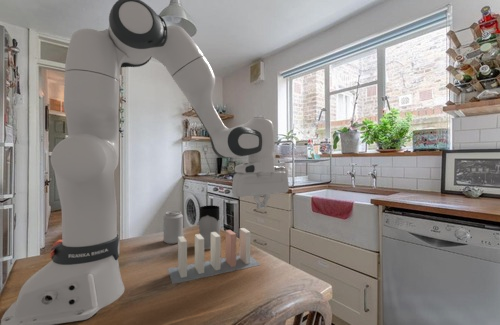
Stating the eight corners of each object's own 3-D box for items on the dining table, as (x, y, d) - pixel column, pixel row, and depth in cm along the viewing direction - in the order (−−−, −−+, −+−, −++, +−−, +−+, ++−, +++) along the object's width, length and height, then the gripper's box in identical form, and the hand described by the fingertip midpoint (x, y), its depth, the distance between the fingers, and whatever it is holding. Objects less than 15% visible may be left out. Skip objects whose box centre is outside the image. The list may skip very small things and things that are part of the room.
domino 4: (231, 267, 74) (231, 234, 74) (225, 260, 79) (225, 230, 79) (236, 266, 75) (236, 234, 75) (230, 260, 80) (230, 229, 79)
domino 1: (181, 277, 68) (181, 242, 68) (178, 270, 72) (177, 236, 72) (186, 276, 68) (186, 241, 68) (183, 269, 73) (183, 236, 73)
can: (165, 238, 101) (165, 210, 101) (183, 237, 102) (183, 209, 102) (161, 245, 94) (161, 214, 94) (182, 244, 95) (181, 213, 95)
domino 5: (245, 264, 77) (245, 232, 76) (239, 258, 81) (239, 228, 81) (250, 263, 77) (250, 232, 77) (243, 257, 82) (243, 227, 82)
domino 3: (215, 270, 72) (215, 237, 72) (210, 263, 77) (210, 232, 76) (220, 269, 73) (220, 236, 73) (215, 262, 77) (215, 231, 77)
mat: (172, 285, 64) (172, 284, 64) (167, 269, 73) (167, 268, 73) (261, 265, 76) (261, 264, 76) (247, 254, 85) (247, 253, 85)
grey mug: (195, 250, 89) (195, 209, 89) (203, 237, 103) (203, 202, 103) (219, 250, 89) (219, 209, 88) (224, 237, 103) (224, 202, 102)
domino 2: (198, 273, 70) (198, 239, 70) (194, 266, 74) (194, 234, 74) (204, 272, 71) (204, 238, 70) (199, 265, 75) (199, 233, 75)
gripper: (282, 165, 89) (282, 203, 89) (230, 167, 80) (230, 209, 80) (292, 166, 83) (292, 206, 83) (237, 168, 74) (237, 213, 74)
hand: (261, 207), depth 82 cm, fingers closed
